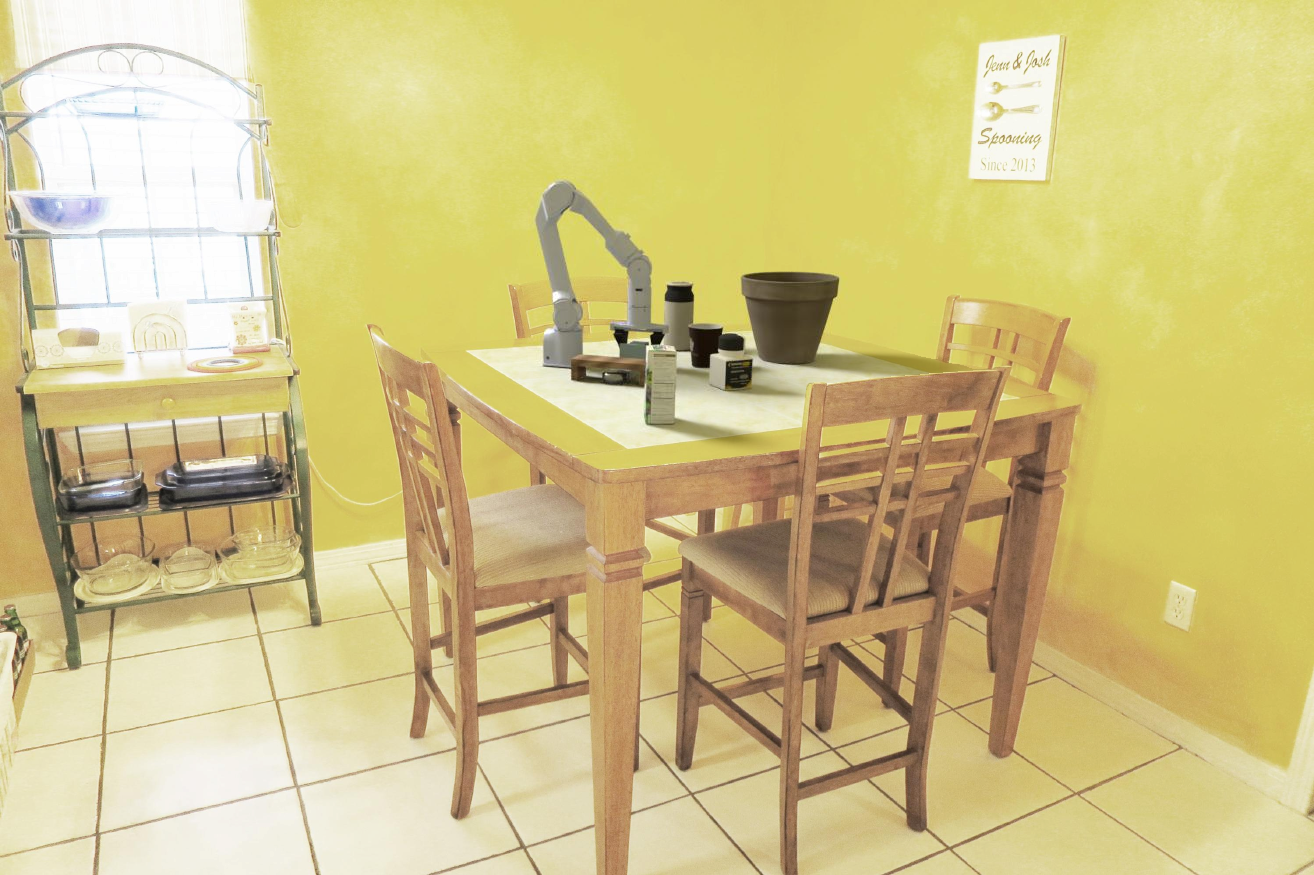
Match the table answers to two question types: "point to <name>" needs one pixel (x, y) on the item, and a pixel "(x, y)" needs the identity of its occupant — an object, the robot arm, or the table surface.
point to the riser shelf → (606, 365)
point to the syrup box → (660, 384)
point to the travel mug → (678, 314)
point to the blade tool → (633, 354)
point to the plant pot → (788, 312)
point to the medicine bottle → (731, 364)
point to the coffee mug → (704, 343)
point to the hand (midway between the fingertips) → (638, 360)
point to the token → (614, 377)
